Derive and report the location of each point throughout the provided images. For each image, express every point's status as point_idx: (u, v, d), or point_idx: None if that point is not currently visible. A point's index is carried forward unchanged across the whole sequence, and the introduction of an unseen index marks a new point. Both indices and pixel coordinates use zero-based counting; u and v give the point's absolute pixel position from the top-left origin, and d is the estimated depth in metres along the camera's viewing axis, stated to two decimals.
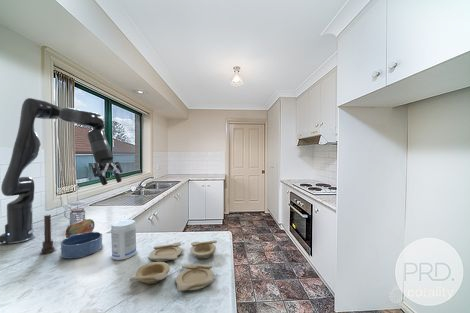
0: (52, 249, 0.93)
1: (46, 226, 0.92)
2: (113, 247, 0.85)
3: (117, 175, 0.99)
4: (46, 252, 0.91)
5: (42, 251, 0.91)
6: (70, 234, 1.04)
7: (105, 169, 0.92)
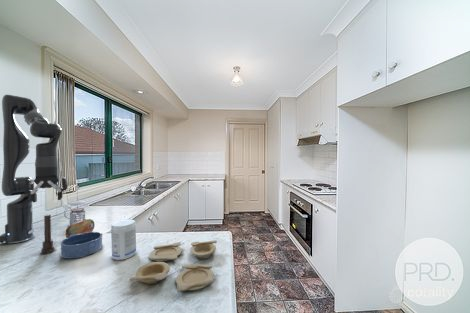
0: (52, 249, 0.93)
1: (46, 226, 0.92)
2: (113, 247, 0.85)
3: None
4: (46, 252, 0.91)
5: (42, 251, 0.91)
6: (70, 234, 1.04)
7: (36, 187, 0.90)
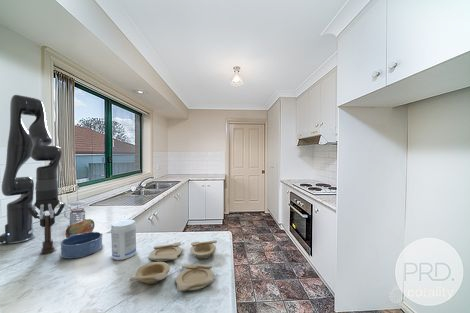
0: (52, 249, 0.93)
1: (46, 226, 0.92)
2: (113, 247, 0.85)
3: None
4: (46, 252, 0.91)
5: (42, 251, 0.91)
6: (70, 234, 1.04)
7: (41, 212, 0.91)
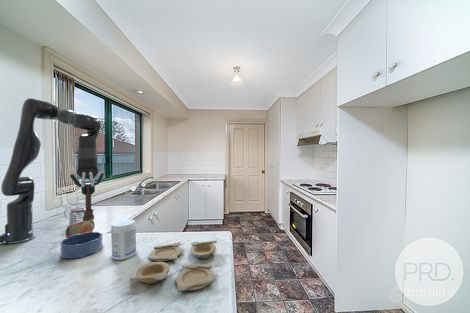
0: (93, 217, 0.95)
1: (87, 194, 0.94)
2: (113, 247, 0.85)
3: (91, 187, 0.95)
4: (88, 219, 0.93)
5: (84, 218, 0.93)
6: (70, 234, 1.04)
7: (83, 179, 0.92)
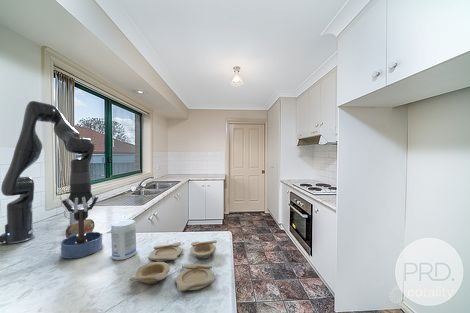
0: None
1: (80, 220, 0.90)
2: (113, 247, 0.85)
3: (84, 212, 0.92)
4: None
5: None
6: (70, 234, 1.04)
7: (75, 205, 0.89)
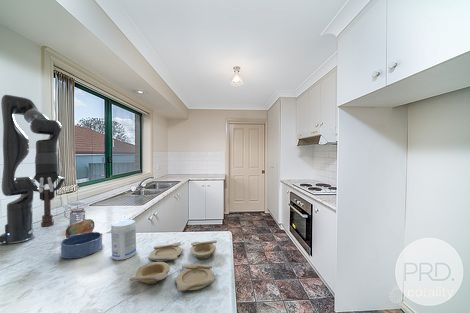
0: (52, 223, 0.93)
1: (46, 200, 0.92)
2: (113, 247, 0.85)
3: None
4: (46, 225, 0.91)
5: (42, 224, 0.91)
6: (70, 234, 1.04)
7: (40, 185, 0.90)
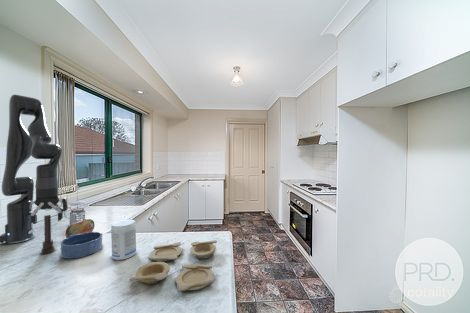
0: (52, 249, 0.93)
1: (46, 226, 0.92)
2: (113, 247, 0.85)
3: (58, 213, 0.94)
4: (46, 252, 0.91)
5: (42, 251, 0.91)
6: (70, 234, 1.04)
7: (36, 209, 0.90)
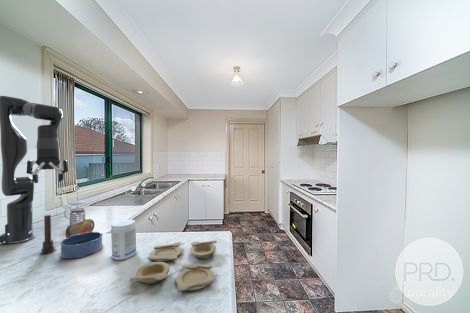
0: (52, 249, 0.93)
1: (46, 226, 0.92)
2: (113, 247, 0.85)
3: None
4: (46, 252, 0.91)
5: (42, 251, 0.91)
6: (70, 234, 1.04)
7: (37, 168, 0.91)
